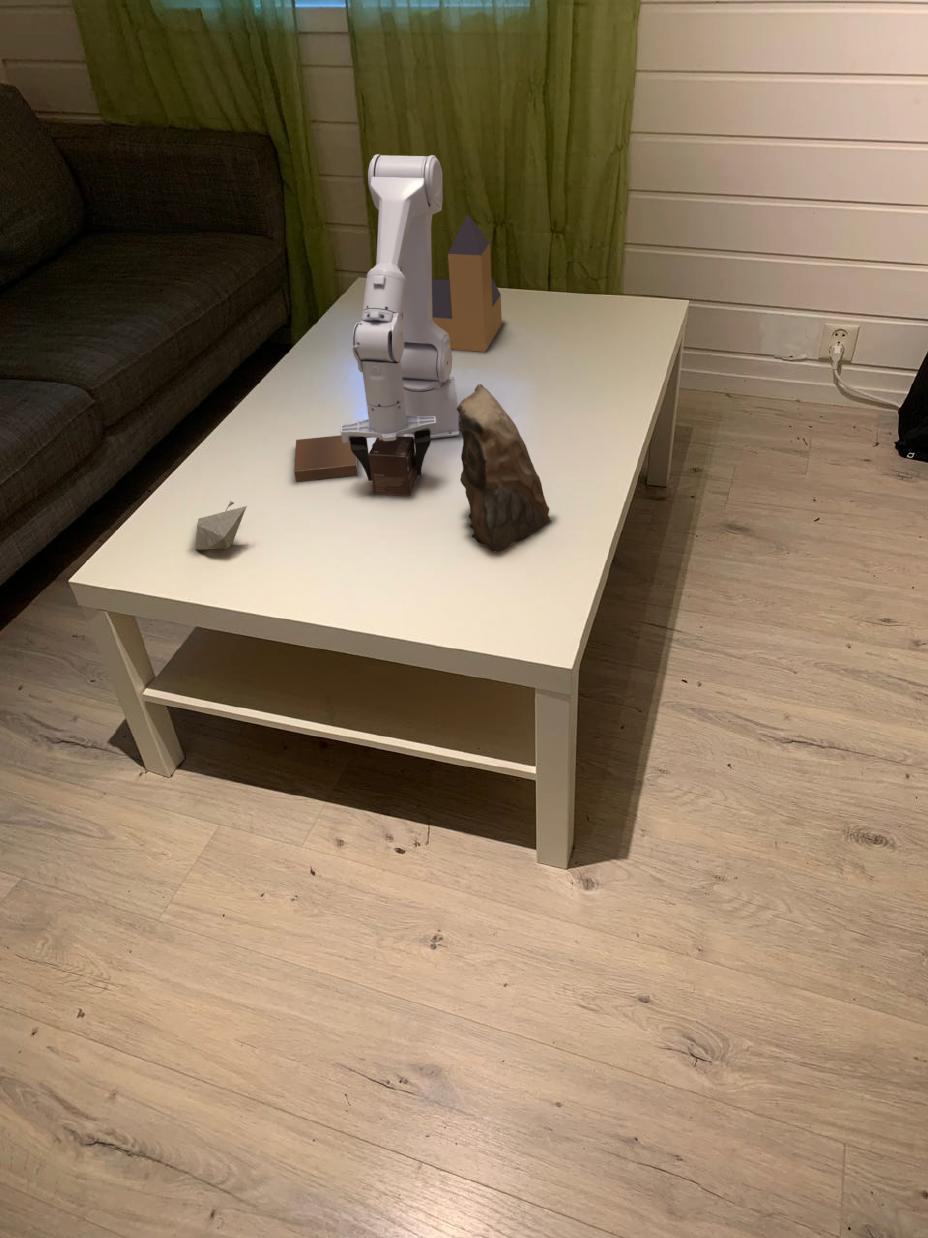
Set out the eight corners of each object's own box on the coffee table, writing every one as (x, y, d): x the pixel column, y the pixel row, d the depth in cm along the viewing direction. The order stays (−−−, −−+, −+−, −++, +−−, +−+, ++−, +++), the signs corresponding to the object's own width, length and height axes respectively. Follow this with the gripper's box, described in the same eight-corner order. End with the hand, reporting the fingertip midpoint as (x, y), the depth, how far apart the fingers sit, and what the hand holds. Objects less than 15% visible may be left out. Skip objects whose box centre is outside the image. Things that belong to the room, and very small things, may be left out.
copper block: (356, 443, 170) (355, 433, 169) (357, 475, 163) (356, 465, 162) (297, 449, 170) (295, 439, 169) (296, 481, 162) (294, 471, 161)
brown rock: (493, 559, 144) (487, 436, 131) (434, 524, 151) (424, 405, 138) (553, 521, 150) (554, 401, 137) (494, 489, 157) (489, 372, 144)
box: (409, 497, 157) (405, 456, 152) (372, 494, 158) (367, 454, 154) (418, 476, 162) (414, 436, 157) (382, 473, 163) (377, 434, 158)
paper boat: (167, 545, 149) (192, 498, 154) (200, 570, 153) (224, 523, 157) (213, 525, 141) (237, 476, 146) (247, 552, 145) (270, 503, 149)
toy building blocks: (485, 351, 194) (479, 220, 178) (393, 344, 198) (380, 215, 182) (501, 324, 203) (497, 196, 187) (413, 317, 207) (402, 192, 191)
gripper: (336, 415, 147) (348, 493, 155) (435, 405, 147) (442, 484, 156) (336, 392, 152) (348, 469, 161) (432, 383, 152) (438, 460, 161)
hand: (394, 475), depth 159 cm, fingers closed on box, 7 cm apart
